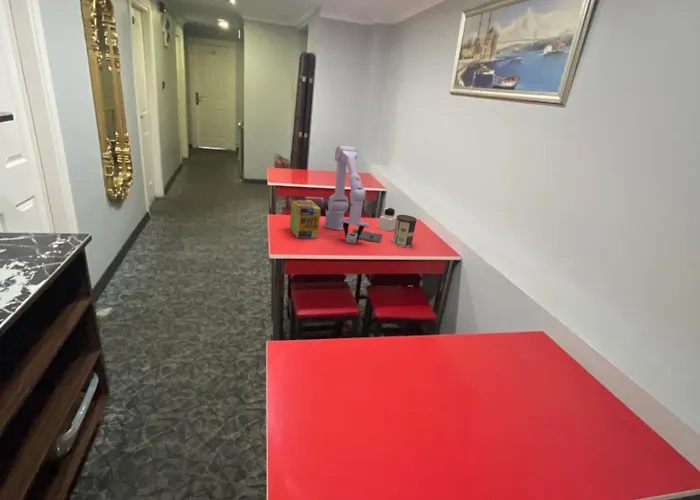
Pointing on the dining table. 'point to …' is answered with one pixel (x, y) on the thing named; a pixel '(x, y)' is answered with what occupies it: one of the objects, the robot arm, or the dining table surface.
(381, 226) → the medicine bottle
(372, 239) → the shaft block
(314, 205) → the protein box
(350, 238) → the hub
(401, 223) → the coffee can
